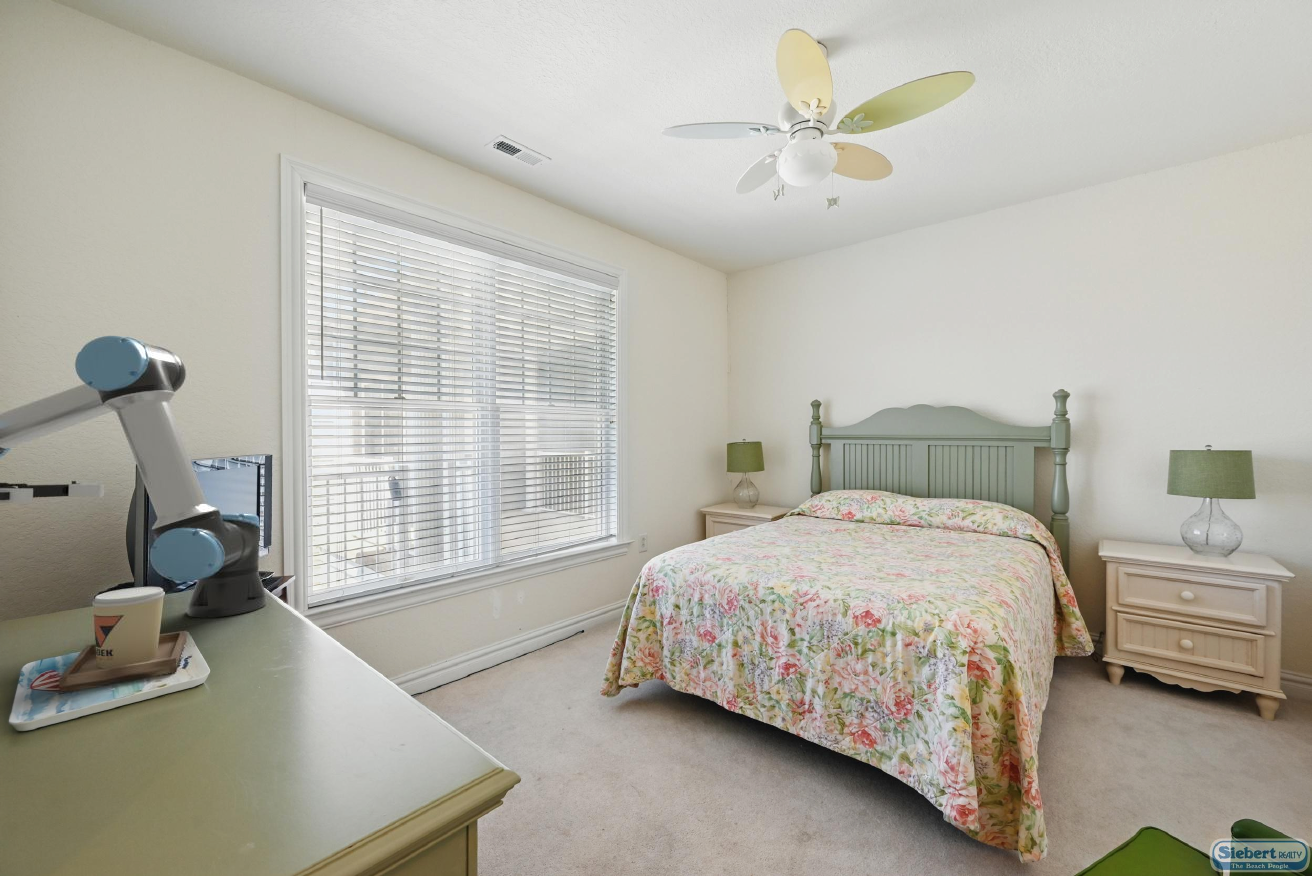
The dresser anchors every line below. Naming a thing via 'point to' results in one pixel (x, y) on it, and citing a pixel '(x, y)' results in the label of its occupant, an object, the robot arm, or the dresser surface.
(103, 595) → the coffee cup
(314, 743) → the dresser surface
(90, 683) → the walnut tray
